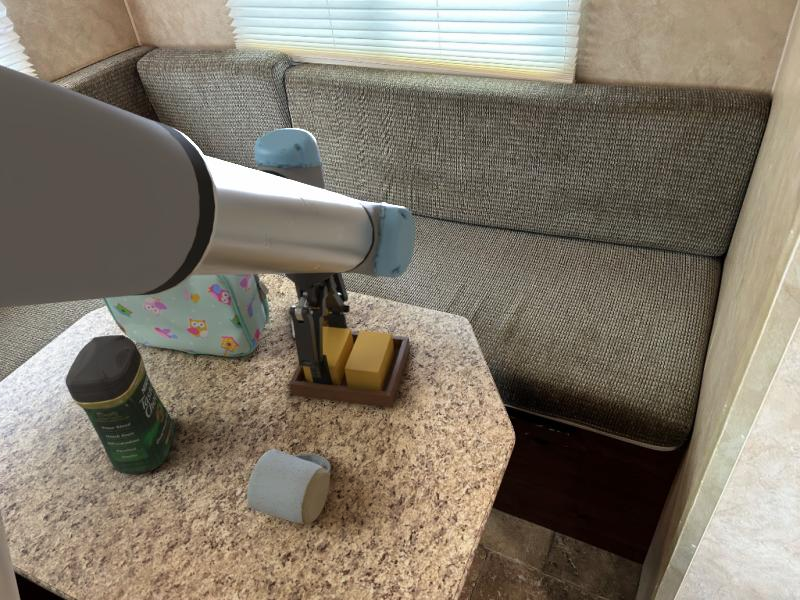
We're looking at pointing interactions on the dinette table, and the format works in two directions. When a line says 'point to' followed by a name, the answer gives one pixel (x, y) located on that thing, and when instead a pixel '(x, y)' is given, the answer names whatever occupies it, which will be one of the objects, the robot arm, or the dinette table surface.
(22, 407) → the dinette table surface
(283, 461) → the ceramic mug
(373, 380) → the pad seated
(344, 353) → the pad loose
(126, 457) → the coffee jar
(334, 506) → the dinette table surface
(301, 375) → the frame
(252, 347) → the lunch box
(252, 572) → the dinette table surface
